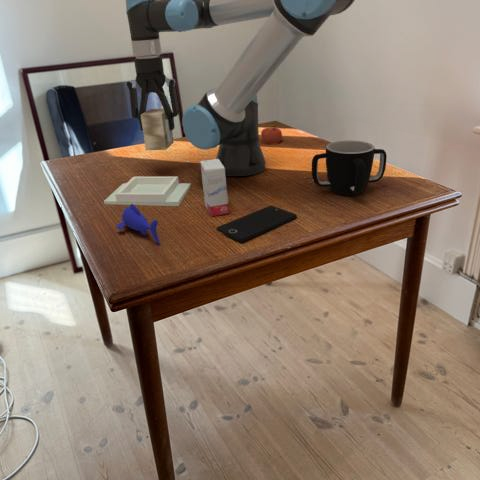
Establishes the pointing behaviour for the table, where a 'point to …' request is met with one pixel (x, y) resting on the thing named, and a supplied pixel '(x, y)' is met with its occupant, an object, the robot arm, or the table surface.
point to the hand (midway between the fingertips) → (159, 141)
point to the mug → (349, 166)
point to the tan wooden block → (155, 130)
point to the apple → (271, 135)
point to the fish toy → (138, 222)
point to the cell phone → (256, 223)
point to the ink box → (214, 187)
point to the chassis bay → (150, 192)
